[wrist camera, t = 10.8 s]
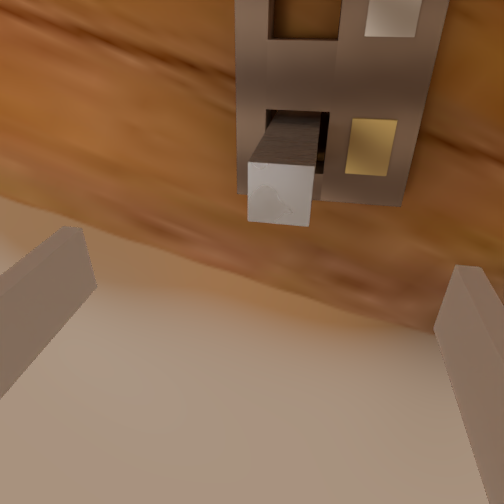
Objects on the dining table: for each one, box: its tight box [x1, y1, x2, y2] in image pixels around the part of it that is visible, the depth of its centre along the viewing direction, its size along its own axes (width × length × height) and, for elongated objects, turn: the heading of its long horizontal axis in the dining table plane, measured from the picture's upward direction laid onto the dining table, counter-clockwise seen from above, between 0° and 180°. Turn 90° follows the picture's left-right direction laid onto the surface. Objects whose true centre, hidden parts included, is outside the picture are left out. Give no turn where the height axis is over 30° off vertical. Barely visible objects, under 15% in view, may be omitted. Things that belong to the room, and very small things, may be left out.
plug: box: [248, 110, 321, 227], centre depth 26 cm, size 3×3×13 cm
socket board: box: [235, 0, 449, 207], centre depth 27 cm, size 18×13×3 cm
